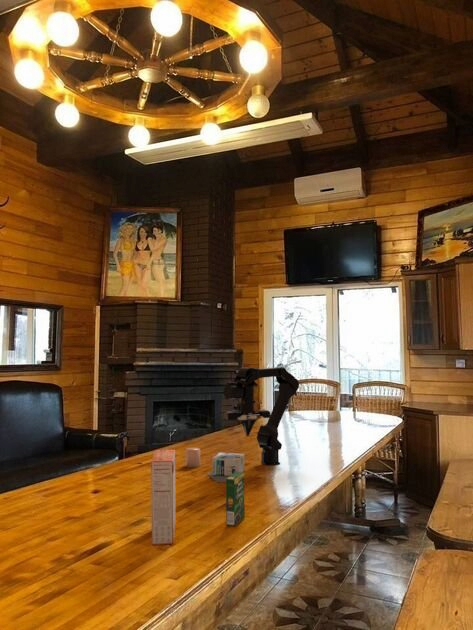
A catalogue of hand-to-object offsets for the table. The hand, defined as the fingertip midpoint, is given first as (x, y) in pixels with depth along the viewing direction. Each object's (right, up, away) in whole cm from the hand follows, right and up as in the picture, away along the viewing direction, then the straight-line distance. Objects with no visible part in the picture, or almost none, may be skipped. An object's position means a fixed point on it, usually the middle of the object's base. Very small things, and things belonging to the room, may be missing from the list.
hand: (247, 435), depth 201 cm
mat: (-9, -12, -15) cm, 21 cm away
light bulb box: (-2, -9, -11) cm, 14 cm away
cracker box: (-24, -8, -72) cm, 77 cm away
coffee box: (-5, -9, -63) cm, 64 cm away
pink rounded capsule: (-23, -13, +4) cm, 27 cm away
